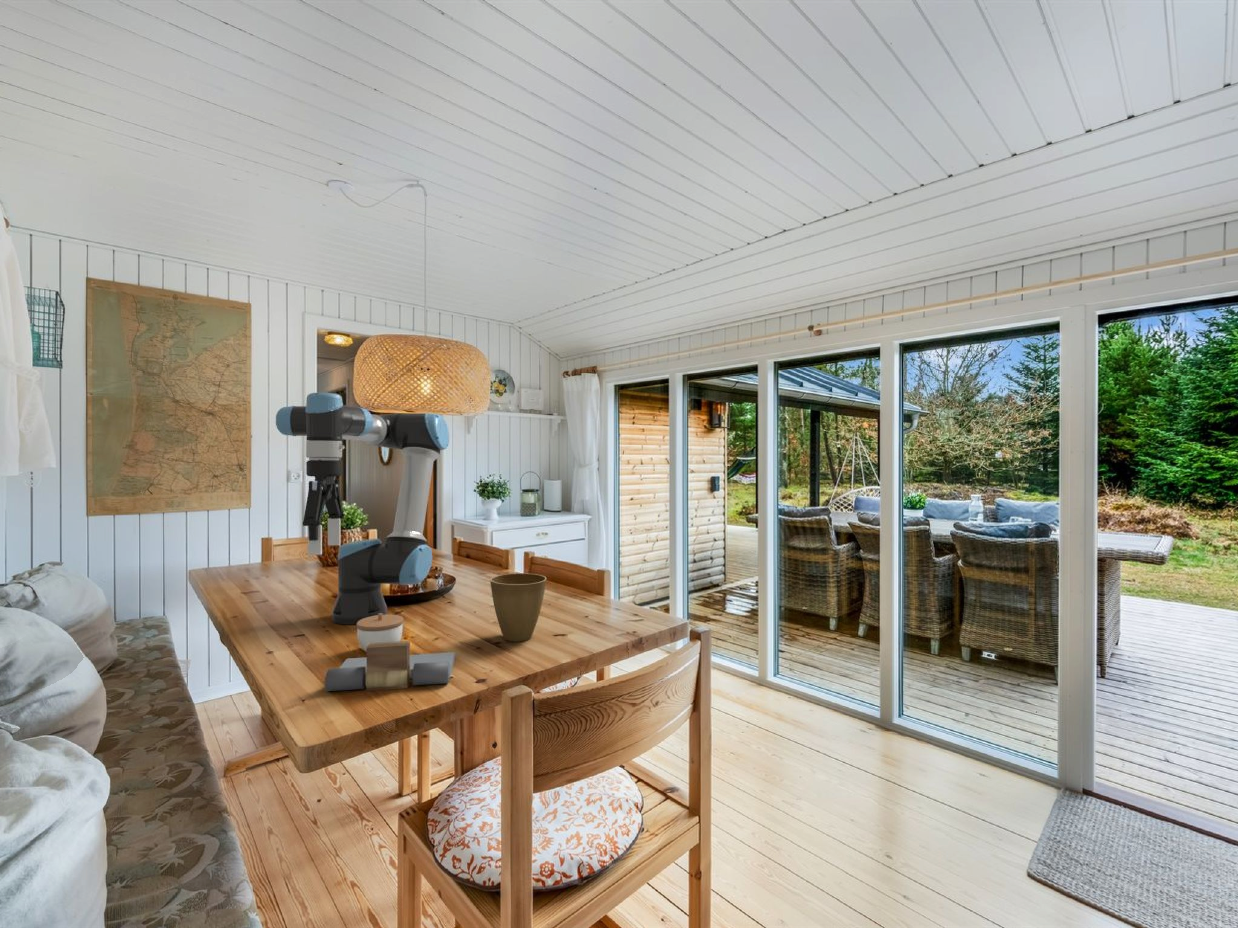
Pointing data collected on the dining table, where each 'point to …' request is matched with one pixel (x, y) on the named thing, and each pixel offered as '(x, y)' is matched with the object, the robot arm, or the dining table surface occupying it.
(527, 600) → the plant pot
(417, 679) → the grey hinge leaf
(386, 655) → the taupe rectangular chunk
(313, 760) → the dining table surface
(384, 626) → the lidded jar
